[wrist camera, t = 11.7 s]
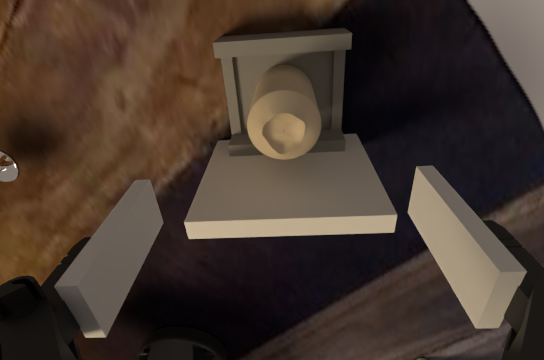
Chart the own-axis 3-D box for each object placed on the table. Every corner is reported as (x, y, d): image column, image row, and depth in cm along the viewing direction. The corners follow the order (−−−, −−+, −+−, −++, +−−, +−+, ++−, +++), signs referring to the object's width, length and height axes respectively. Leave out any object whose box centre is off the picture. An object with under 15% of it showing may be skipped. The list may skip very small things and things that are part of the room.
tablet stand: (220, 153, 35) (188, 238, 23) (200, 37, 29) (143, 73, 17) (355, 147, 34) (394, 232, 22) (365, 26, 28) (426, 55, 16)
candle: (304, 125, 32) (311, 175, 24) (251, 114, 32) (239, 161, 23) (319, 70, 29) (333, 105, 21) (261, 58, 29) (251, 88, 20)
